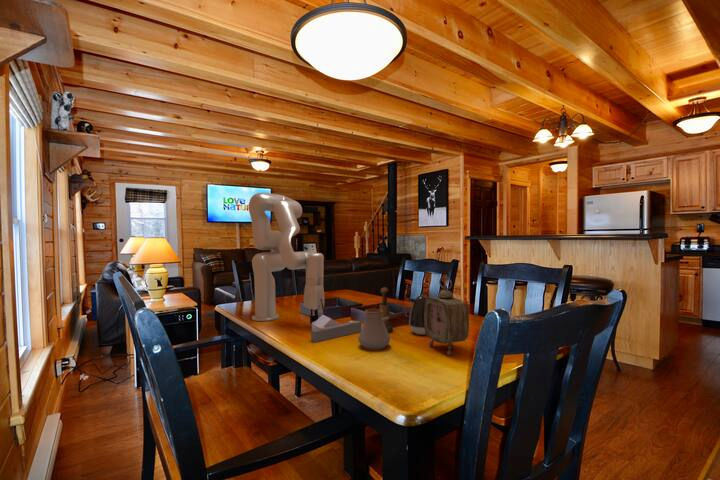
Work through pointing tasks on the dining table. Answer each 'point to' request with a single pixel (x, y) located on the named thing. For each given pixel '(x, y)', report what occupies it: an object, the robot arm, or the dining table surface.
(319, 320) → the wedge on round base
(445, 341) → the tabletop clock
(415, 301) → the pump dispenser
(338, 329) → the bar
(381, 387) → the dining table surface
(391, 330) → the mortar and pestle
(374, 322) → the coffee pot
